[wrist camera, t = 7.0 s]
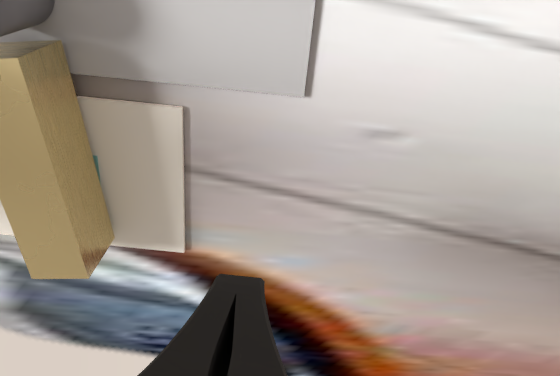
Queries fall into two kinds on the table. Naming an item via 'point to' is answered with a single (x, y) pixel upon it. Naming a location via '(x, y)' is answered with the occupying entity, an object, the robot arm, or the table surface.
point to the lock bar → (48, 165)
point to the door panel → (163, 69)
